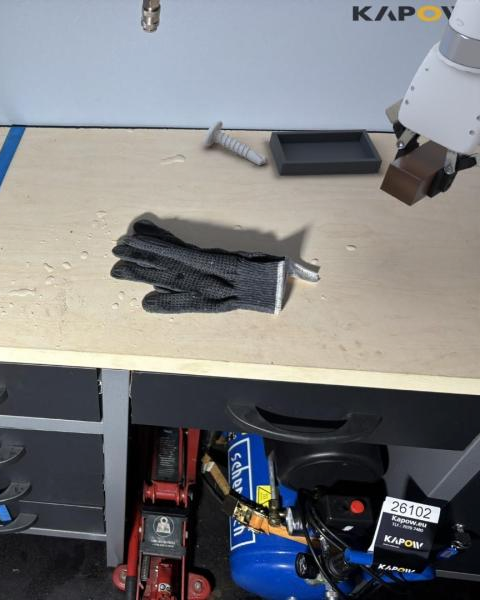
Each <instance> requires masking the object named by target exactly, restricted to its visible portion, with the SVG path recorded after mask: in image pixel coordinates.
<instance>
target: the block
mask: <svg viewBox="0 0 480 600" xmlns="http://www.w3.org/2000/svg"><path fill="white" fill-rule="evenodd" d="M447 149H448V148H446V147H444V146H442V145H440V144H438V143H436V142H434V141H432V140H430V139H428V140H427V141H426V142H423V144H421V145H419V147H417V148H415V149H414V150H412V151H410V152H409V153H407V154H405V155H403V156H402V157H400V158H398V159H396V160H395V161H394V160H393V161H391V162H390V163H389V164H388V167H387V168H386V169H387V170H386V172H385V174H384V177H383V180H382V182H381V184H380V187H379V190H381V191H382V192H384V193H386V194H387V195H390V196H391V197H393V198H395V199H396V200H397V201H400V202H401V203H403V204H405V205H407V206H408V207H412V206H413V205H415V204H417V203H418V202H420V201H421V200H423V199H425V198H426V197H428V196H427V193H428V190H429V188H430V186H431V184H432V182H433V180H434V178H435V176H436V174H437V172H438V170H439V169H441V168H443V167H444V165H445V160H446V154H447Z"/></svg>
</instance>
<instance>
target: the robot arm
mask: <svg viewBox="0 0 480 600" xmlns="http://www.w3.org/2000/svg"><path fill="white" fill-rule="evenodd" d="M384 112H385V115H386V117H387V119H388V120H389V122H390V124H392V130H393V132H394V135H395V138H396V140H397V141H396V143H395V146H396V149H397V152H396V154H395V156H394V159H393V161H395V160H396V159H398V158H400V157H402V156H403V155H405V154H407V153H409V152H410V151H412V150H414V149H415V148H417V147H419V146H420V142H418V140H419V139H420V138H421V137H424V138H426V139H427V140H432V141H434V142H436V143H438V144H440V145H442V146H444V147H446V148H448V149H447V154H446V160H445V165H444V167H443V168H441V169H439V170H438V172H437V174H436V176H435V178H434V180H433V182H432V184H431V186H430V188H429V190H428V193H427V196H426V197H428V198H430V199H432V198H434V197H436V196H438V195H439V194H440V193H443V194H444V193H446V192H447V191H449V189H450V188H451V187H452V185H453V183H454V181H455V179H456V177H457V175H458V173H459V172H460V171H464V170H468V169H471V168H475V167H477V168H478V167H480V153H478V152H476V153H474V152H475V150H476V149H477V147H480V0H456V2H455V5H454V7H453V9H452V12H451V15H450V17H449V19H448V22H447V24H446V27H445V28H444V31H443V34H442V37H441V39H440V40H439V41H438V42H436V43H435V44H433V45H432V47H431V48H430V50H429V51H428V53H427V55H426V56H425V58H424V59H423V60H422V63H421V64H420V65H419V68H418V69H417V71H416V72H415V74H414V76H413V79H412V80H411V82H410V84H409V86H408V88H407V91H406V92H405V95H404V97H403V98H402V99H400V100H398V101H397V102H395V103H393V104H392V105H390V106H388V107H387V108H385V111H384Z"/></svg>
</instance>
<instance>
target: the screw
mask: <svg viewBox="0 0 480 600" xmlns="http://www.w3.org/2000/svg"><path fill="white" fill-rule="evenodd" d="M223 125H224V124H223V121H222V120H218V121H216V122H214V123H212V124H211V126H210V127H209V128H208V130H206V133H205V137H204V146H205V147H207V148H209V147H211V146H212V145H213V144H214V143H215V144H217V143H218V145H219V146H223V148H227V151H231V152H232V153H235V154H236V155H237V156H238V155H239V156H240V158H244V160H246V159H247V160H248V161H250V162H252V163H254V164H255V165H257V166H261V165H263V164H265V163H266V156H265V155H263V154H261V153H260V152H258V151H256V150H254V149H253V148H251V146H247V144H246V143H245V144H243V142H242V141H238V139H234V136H233V137H231V136H230V134H228V135H227V134H226V132H222V129H223Z"/></svg>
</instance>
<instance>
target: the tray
mask: <svg viewBox="0 0 480 600" xmlns="http://www.w3.org/2000/svg"><path fill="white" fill-rule="evenodd" d="M269 147H270V151H271V153H272V156H273V159H274V162H275V165H276V168H277V172H278V174H279V176H310V175H311V176H313V175H349V174H350V175H352V174H354V175H355V174H379V171H380V168H381V165H382V163H383V158H382V157H381V156H380V154H379V151H378V149H377V148H376V146H375V144H374V142H373V140H372V139H371V137H370V135H369V133H368V131H367V129H365V128H364V129H361V128H360V129H329V130H328V129H326V130H294V131H271V134H270V139H269Z"/></svg>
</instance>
